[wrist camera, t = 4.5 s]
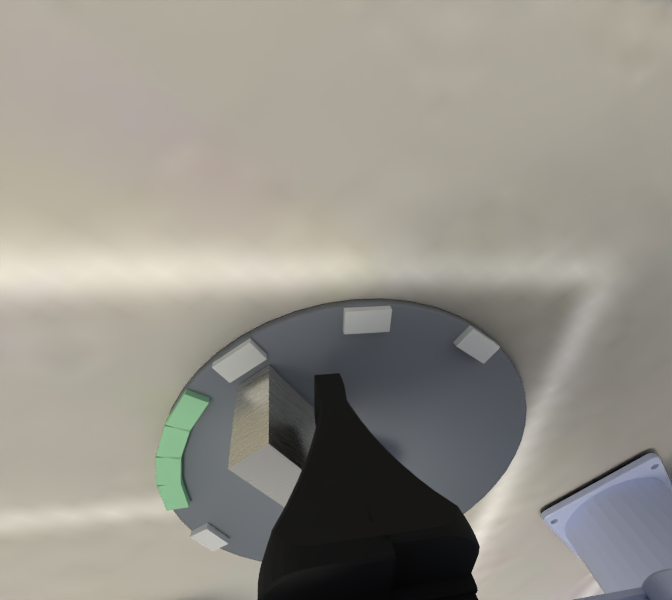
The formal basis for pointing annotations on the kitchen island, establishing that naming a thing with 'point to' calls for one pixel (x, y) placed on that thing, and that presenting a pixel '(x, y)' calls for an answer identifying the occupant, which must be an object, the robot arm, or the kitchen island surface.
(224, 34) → the kitchen island surface
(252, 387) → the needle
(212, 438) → the dial
